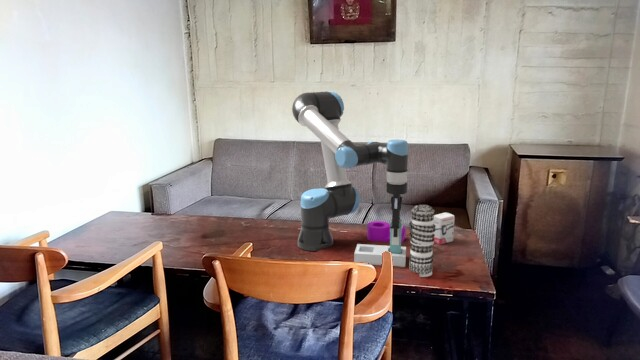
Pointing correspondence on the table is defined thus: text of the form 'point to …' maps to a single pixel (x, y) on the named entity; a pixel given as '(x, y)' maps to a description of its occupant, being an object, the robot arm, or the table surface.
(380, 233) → the tape dispenser
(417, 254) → the decorative candle
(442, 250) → the table surface
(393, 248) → the plug
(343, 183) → the robot arm
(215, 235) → the table surface
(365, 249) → the white slotted block
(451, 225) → the ink box
